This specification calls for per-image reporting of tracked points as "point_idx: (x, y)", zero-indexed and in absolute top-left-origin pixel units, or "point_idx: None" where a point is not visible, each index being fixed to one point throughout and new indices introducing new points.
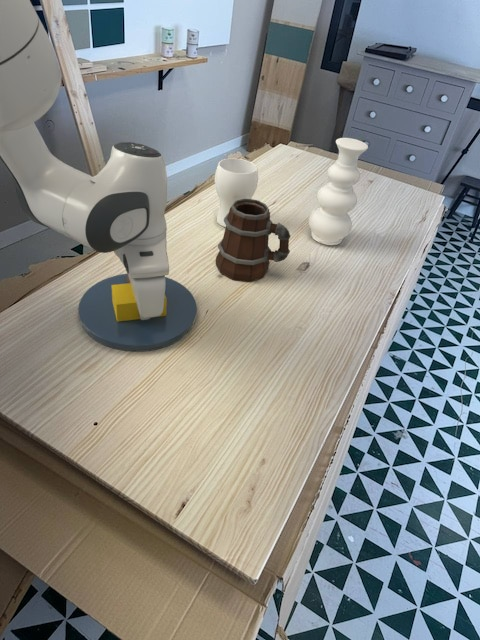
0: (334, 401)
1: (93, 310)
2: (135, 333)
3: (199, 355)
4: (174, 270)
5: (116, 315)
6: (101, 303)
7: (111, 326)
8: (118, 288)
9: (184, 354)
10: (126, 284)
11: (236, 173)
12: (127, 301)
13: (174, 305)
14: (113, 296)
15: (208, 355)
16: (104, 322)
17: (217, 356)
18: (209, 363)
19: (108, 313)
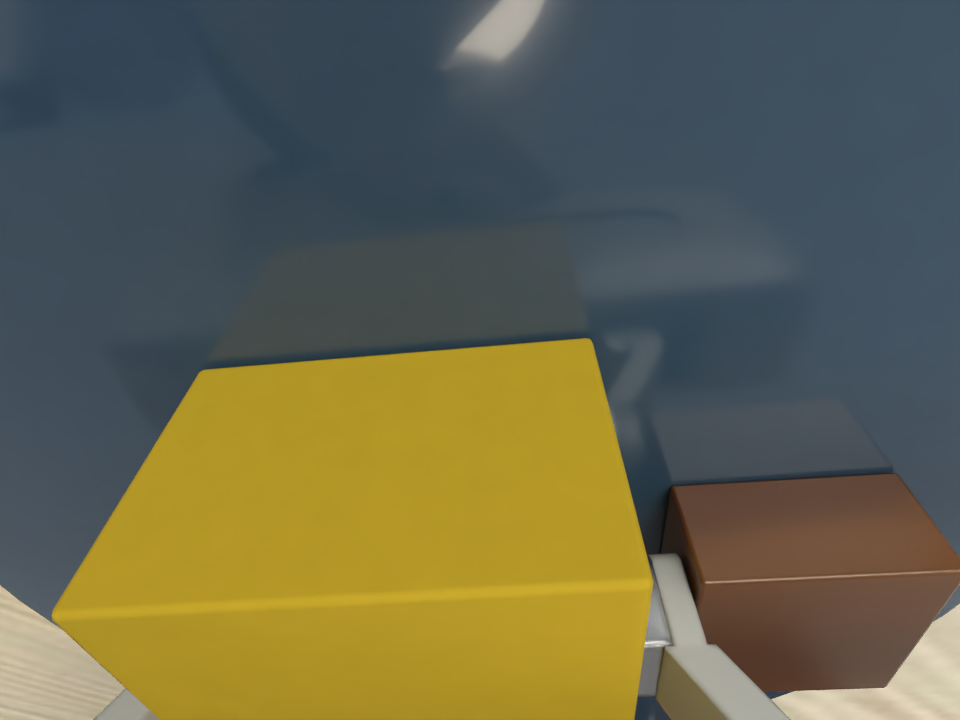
0: None
1: (431, 75)
2: (68, 491)
3: (78, 670)
4: (926, 660)
5: (203, 414)
6: (592, 201)
7: (102, 308)
8: (517, 650)
9: (59, 629)
10: (612, 706)
11: None
12: (184, 701)
13: None
14: (410, 519)
15: (92, 692)
16: (160, 232)
17: (98, 711)
18: (31, 689)
19: (357, 284)
